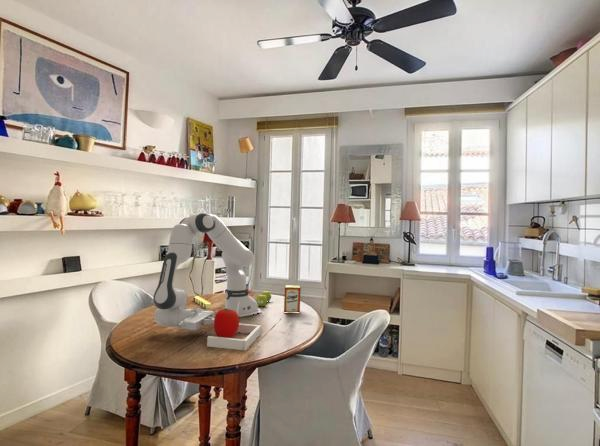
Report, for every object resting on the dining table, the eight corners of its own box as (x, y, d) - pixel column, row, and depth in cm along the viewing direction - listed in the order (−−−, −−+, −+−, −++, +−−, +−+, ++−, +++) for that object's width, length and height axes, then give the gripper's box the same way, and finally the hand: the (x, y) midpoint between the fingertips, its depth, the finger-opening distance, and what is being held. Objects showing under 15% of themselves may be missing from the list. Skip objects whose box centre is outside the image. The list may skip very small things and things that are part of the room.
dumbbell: (266, 307, 211) (266, 296, 211) (254, 306, 212) (254, 295, 212) (271, 301, 228) (272, 291, 228) (260, 300, 229) (261, 290, 229)
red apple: (212, 335, 156) (213, 305, 156) (236, 333, 160) (237, 304, 160) (215, 344, 145) (216, 312, 145) (240, 342, 149) (242, 310, 149)
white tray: (207, 346, 143) (207, 337, 143) (227, 330, 164) (227, 322, 164) (245, 350, 140) (246, 341, 140) (261, 333, 161) (261, 325, 161)
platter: (213, 298, 233) (213, 293, 233) (233, 308, 208) (233, 303, 208) (166, 303, 214) (166, 298, 214) (181, 315, 189) (181, 309, 189)
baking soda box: (299, 310, 206) (300, 285, 206) (299, 313, 199) (300, 287, 199) (284, 310, 205) (285, 284, 205) (283, 313, 199) (284, 286, 199)
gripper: (176, 318, 146) (205, 320, 143) (198, 306, 166) (224, 309, 163) (175, 332, 146) (204, 335, 143) (197, 319, 166) (223, 321, 163)
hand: (215, 321), depth 154 cm, fingers closed, pressing on red apple
